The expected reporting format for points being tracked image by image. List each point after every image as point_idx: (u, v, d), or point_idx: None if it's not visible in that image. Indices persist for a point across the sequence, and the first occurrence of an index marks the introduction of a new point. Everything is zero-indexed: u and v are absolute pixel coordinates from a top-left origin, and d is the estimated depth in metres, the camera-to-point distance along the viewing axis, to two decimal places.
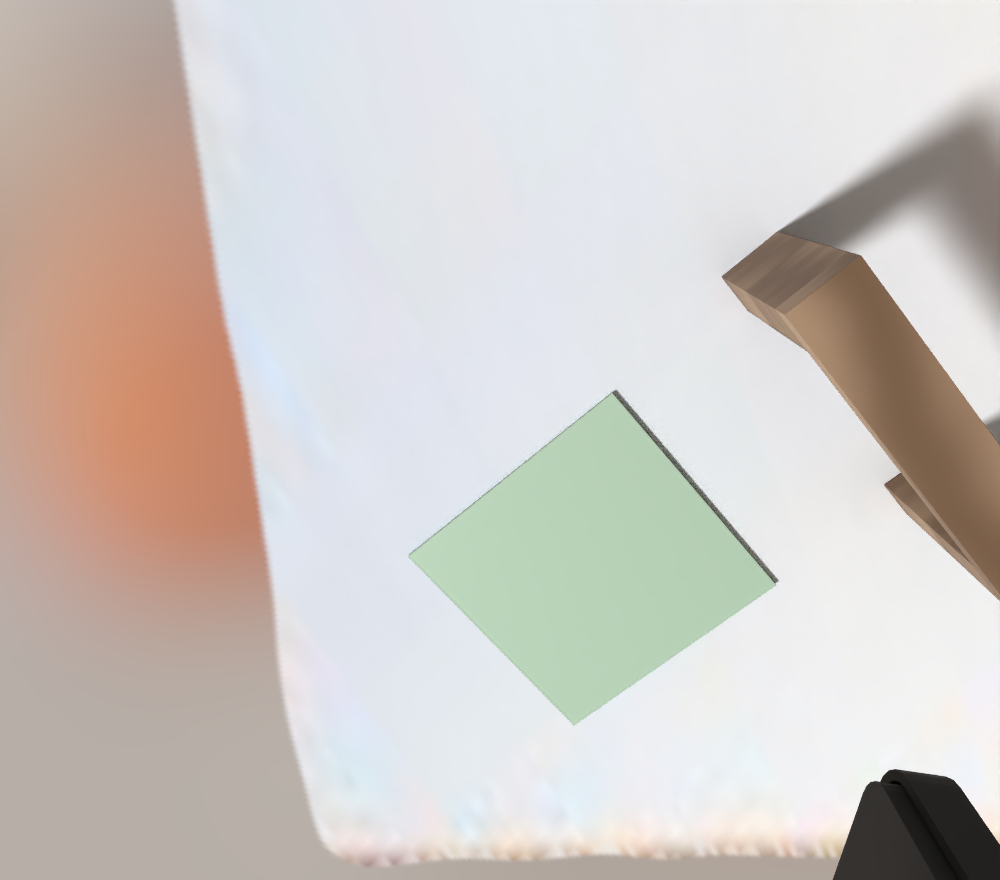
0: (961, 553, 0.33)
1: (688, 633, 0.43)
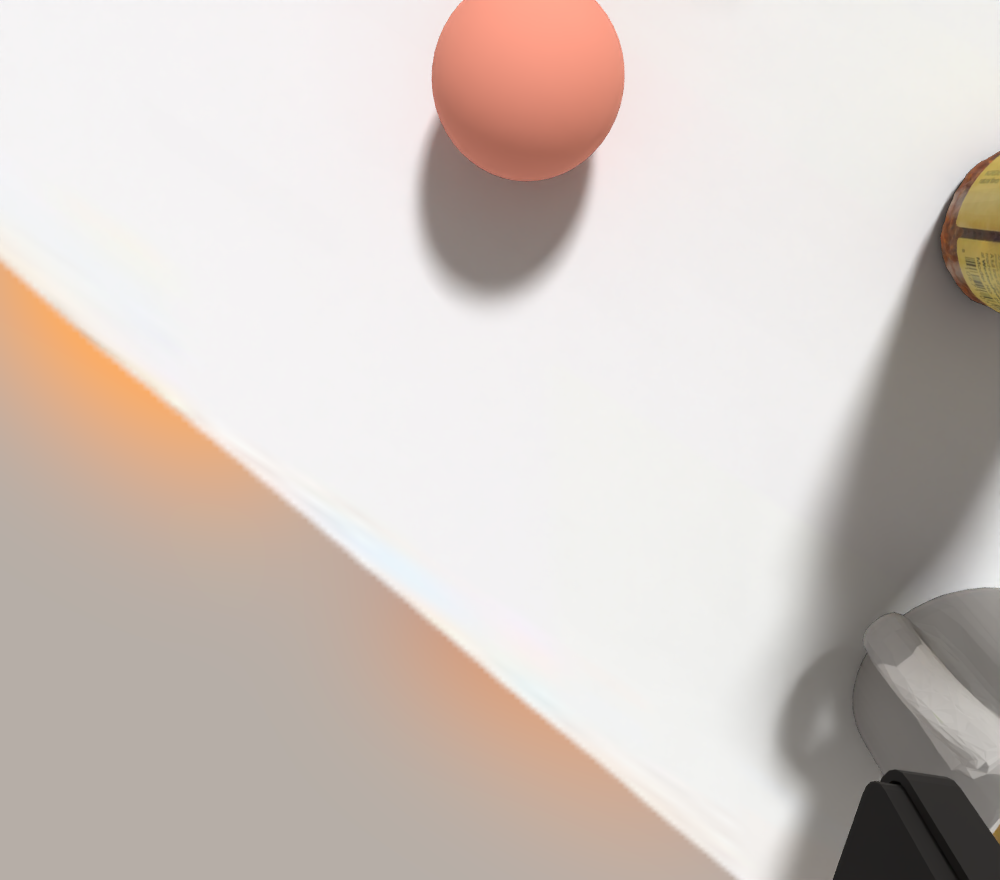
0: None
1: None
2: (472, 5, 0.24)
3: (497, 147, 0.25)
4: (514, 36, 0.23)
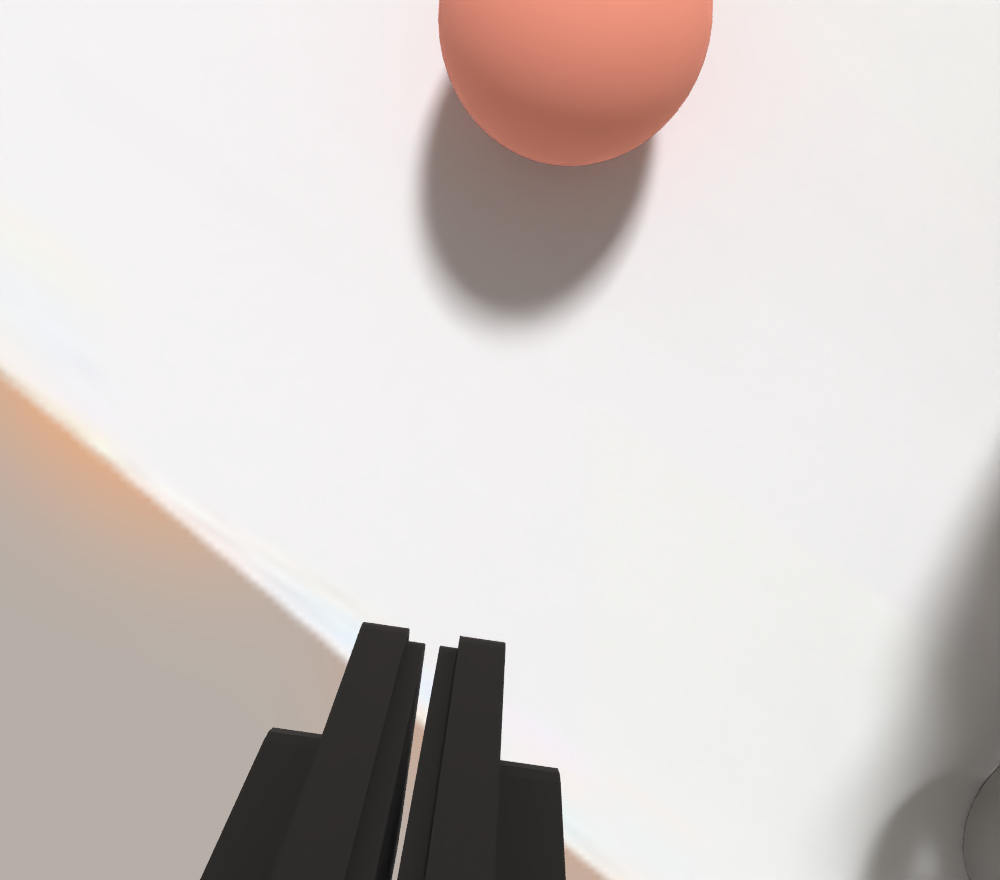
0: None
1: None
2: None
3: (530, 114, 0.17)
4: None
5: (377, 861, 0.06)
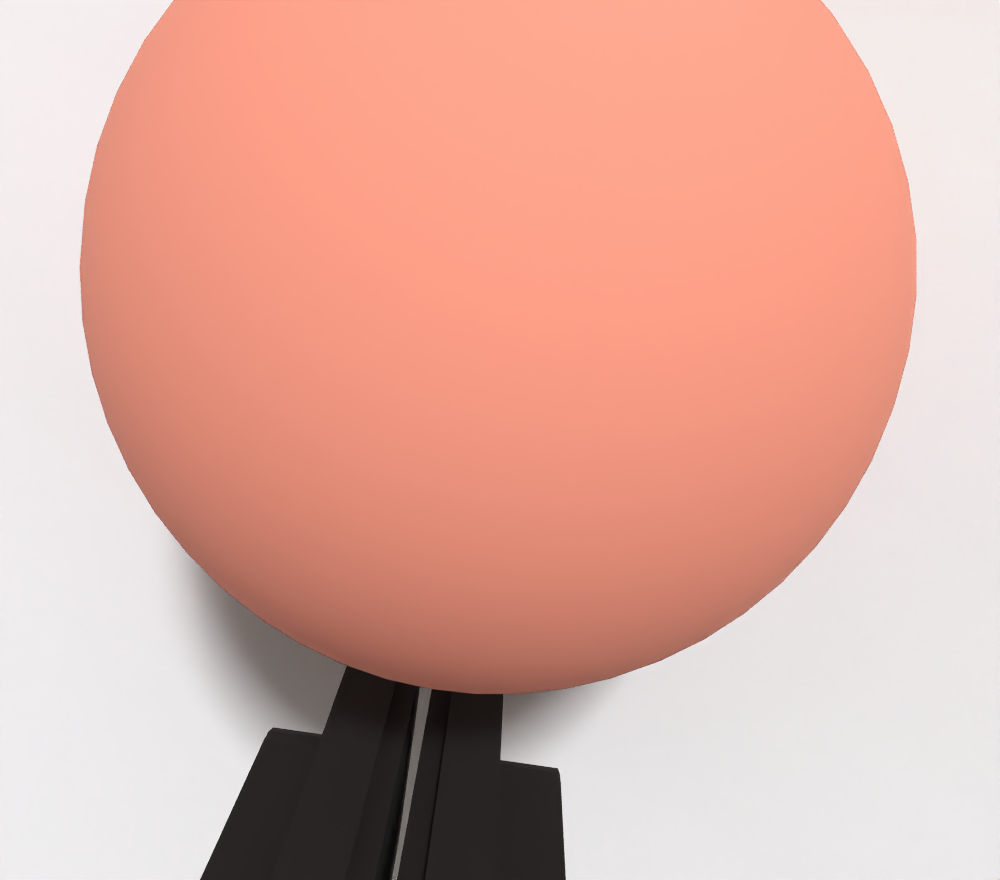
0: None
1: None
2: None
3: (340, 656, 0.05)
4: (403, 198, 0.04)
5: (377, 861, 0.06)
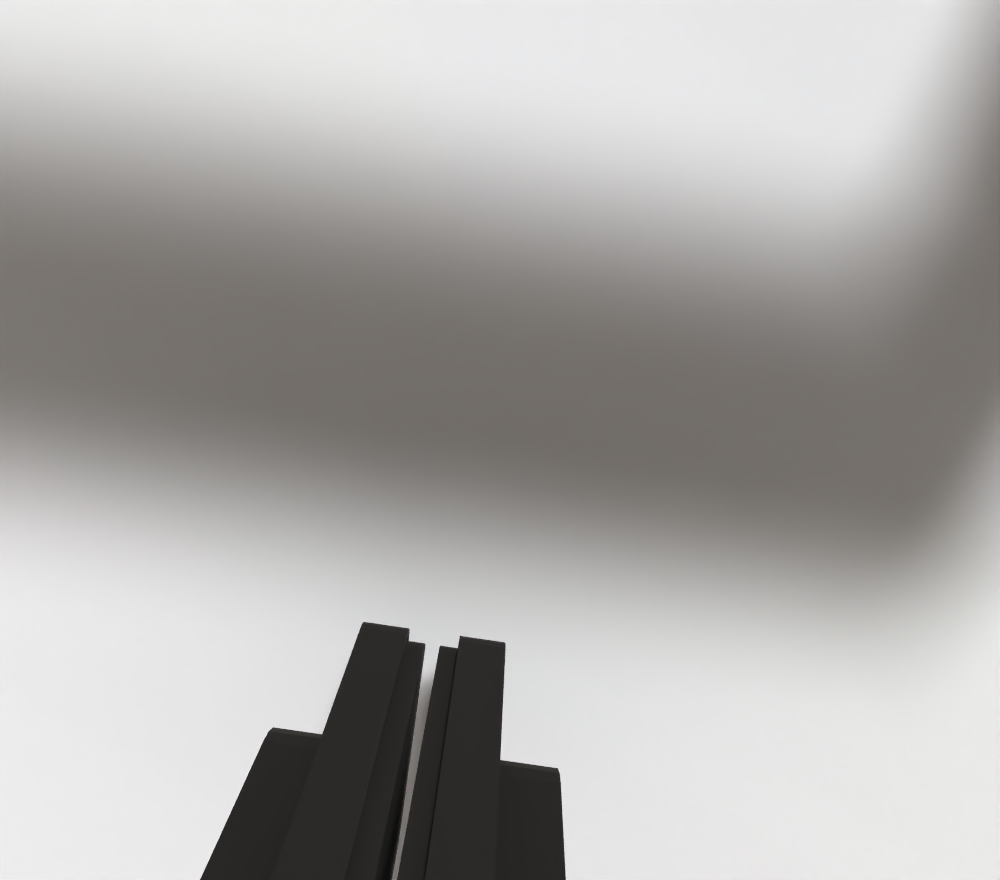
0: None
1: None
2: None
3: None
4: None
5: (377, 861, 0.06)
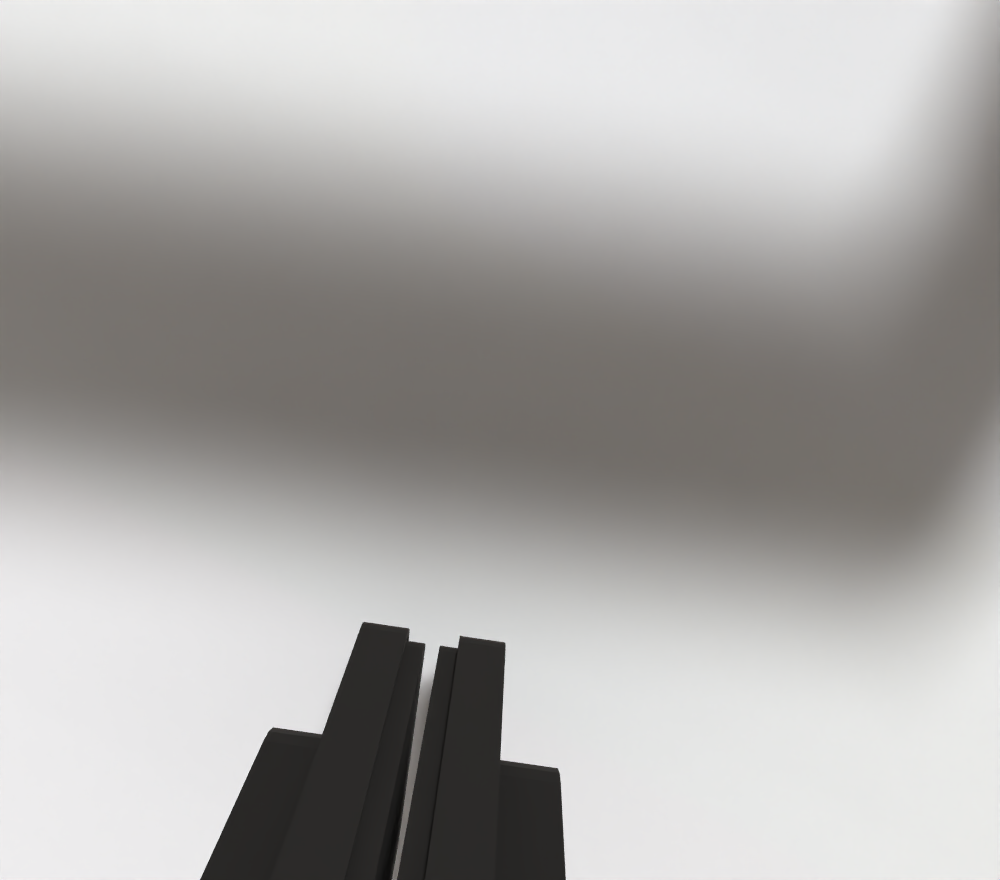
0: None
1: None
2: None
3: None
4: None
5: (377, 861, 0.06)
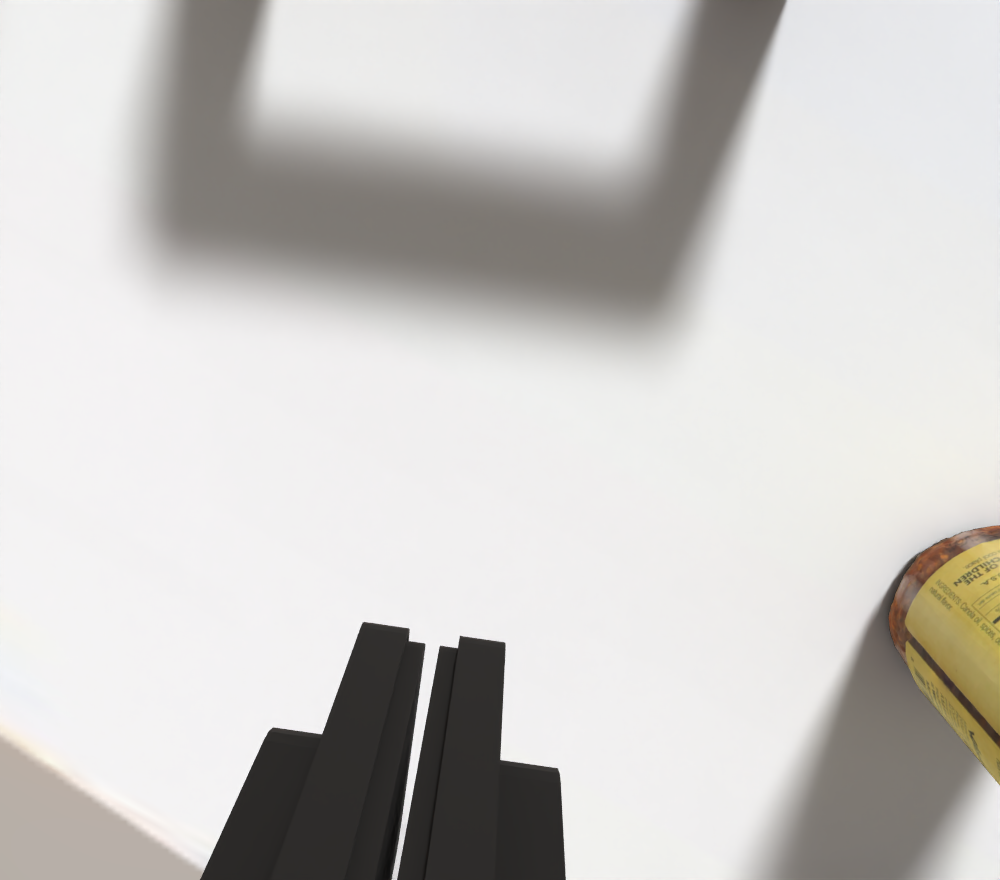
0: None
1: None
2: None
3: None
4: None
5: (377, 861, 0.06)
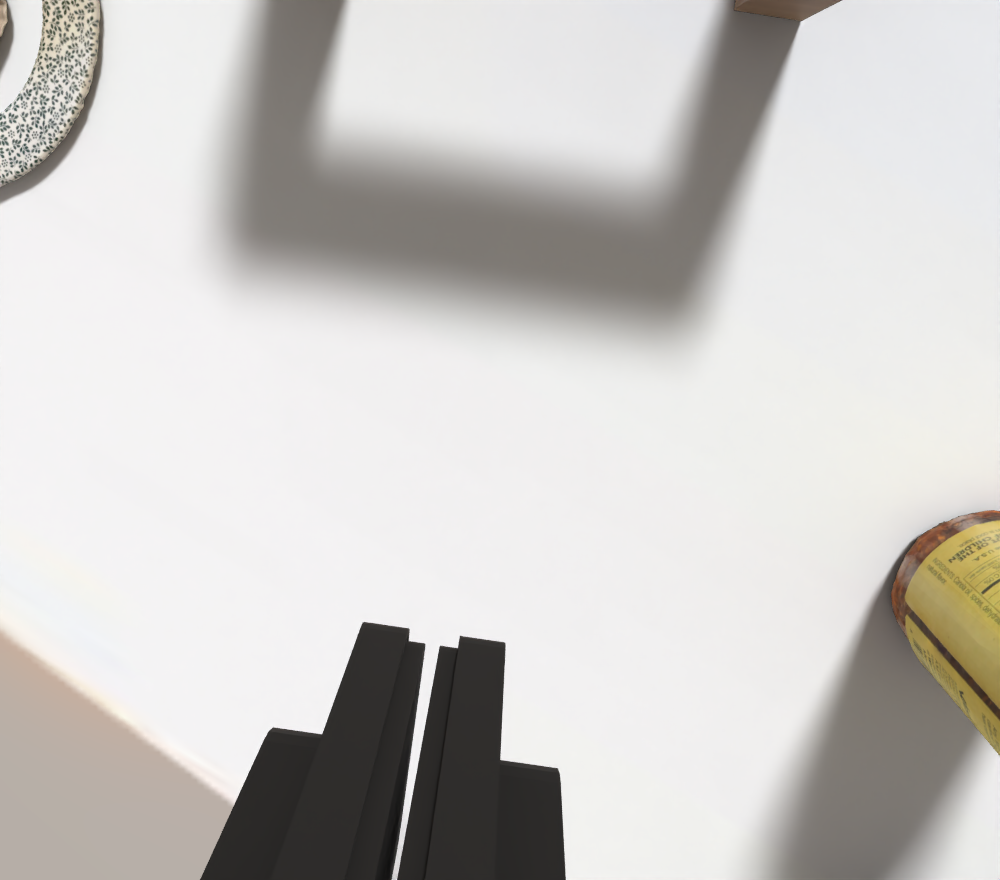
0: None
1: None
2: None
3: None
4: None
5: (377, 861, 0.06)
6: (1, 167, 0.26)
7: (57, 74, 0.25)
